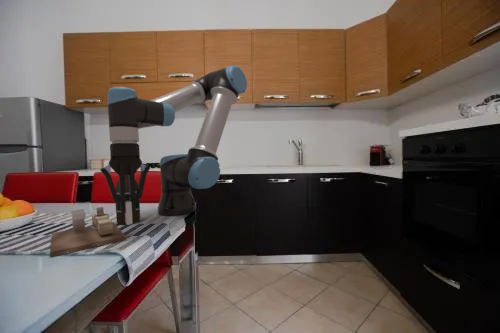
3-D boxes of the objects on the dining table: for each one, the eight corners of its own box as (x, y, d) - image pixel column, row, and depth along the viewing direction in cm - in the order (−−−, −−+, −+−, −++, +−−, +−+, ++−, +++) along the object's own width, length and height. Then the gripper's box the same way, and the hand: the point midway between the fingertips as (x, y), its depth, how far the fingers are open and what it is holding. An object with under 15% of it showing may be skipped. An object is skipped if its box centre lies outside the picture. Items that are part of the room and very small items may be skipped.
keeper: (108, 223, 79) (107, 205, 79) (111, 227, 74) (110, 209, 74) (73, 229, 73) (71, 210, 73) (74, 234, 68) (72, 214, 68)
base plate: (113, 225, 80) (113, 222, 80) (125, 240, 66) (125, 236, 66) (52, 236, 70) (52, 233, 70) (50, 257, 56) (50, 252, 56)
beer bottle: (124, 219, 88) (120, 154, 87) (144, 218, 88) (141, 154, 87) (111, 225, 81) (107, 155, 79) (133, 225, 80) (129, 154, 79)
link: (91, 224, 75) (90, 207, 75) (107, 221, 78) (106, 205, 78) (97, 235, 64) (96, 216, 64) (115, 232, 67) (114, 213, 67)
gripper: (145, 143, 75) (149, 217, 77) (97, 143, 68) (102, 224, 69) (151, 142, 69) (155, 222, 70) (99, 141, 62) (104, 231, 63)
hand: (128, 223), depth 70 cm, fingers closed
